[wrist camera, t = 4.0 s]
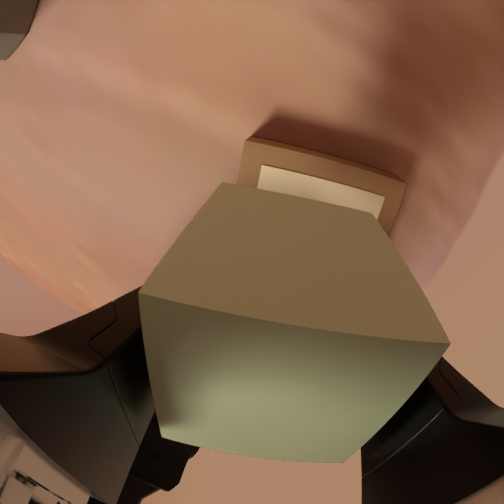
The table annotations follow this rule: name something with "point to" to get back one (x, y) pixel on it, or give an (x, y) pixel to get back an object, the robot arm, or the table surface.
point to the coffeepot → (14, 24)
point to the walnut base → (321, 178)
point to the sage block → (283, 328)
